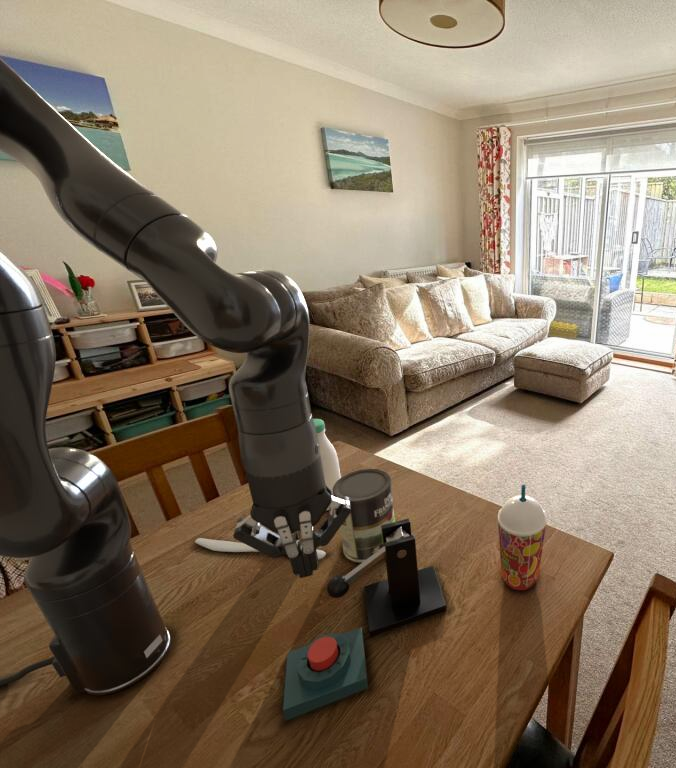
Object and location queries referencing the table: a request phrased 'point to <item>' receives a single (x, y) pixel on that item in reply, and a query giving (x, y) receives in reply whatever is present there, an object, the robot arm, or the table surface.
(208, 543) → the butter knife
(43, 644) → the table surface
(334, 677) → the button block
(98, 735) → the table surface
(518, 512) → the smoothie
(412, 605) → the bracket
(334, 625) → the table surface
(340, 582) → the lever
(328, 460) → the milk bottle
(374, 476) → the coffee can
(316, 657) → the button
